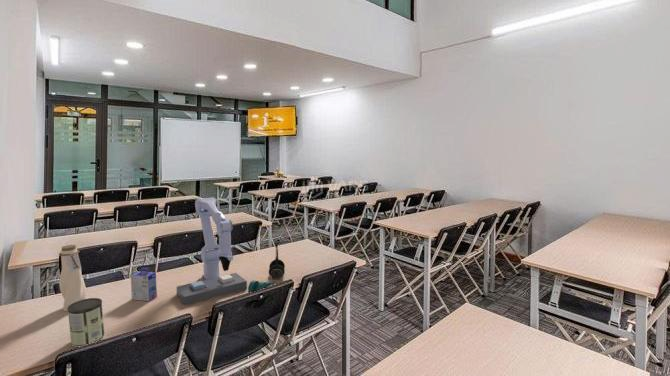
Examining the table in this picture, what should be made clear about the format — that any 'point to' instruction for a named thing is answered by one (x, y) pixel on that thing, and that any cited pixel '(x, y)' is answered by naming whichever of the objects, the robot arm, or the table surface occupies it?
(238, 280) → the key panel
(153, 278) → the ink cartridge box
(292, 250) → the table surface
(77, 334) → the coffee can
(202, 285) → the slate blue key
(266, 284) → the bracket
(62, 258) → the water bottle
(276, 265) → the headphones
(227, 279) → the white key
